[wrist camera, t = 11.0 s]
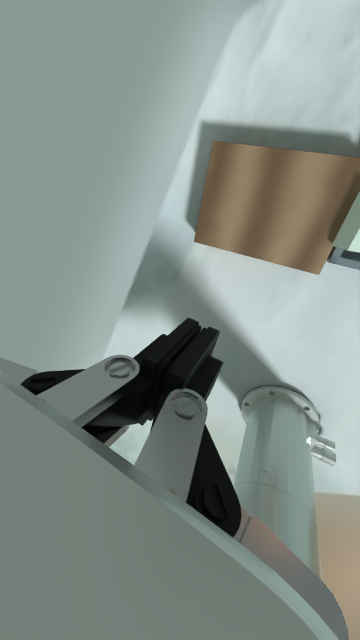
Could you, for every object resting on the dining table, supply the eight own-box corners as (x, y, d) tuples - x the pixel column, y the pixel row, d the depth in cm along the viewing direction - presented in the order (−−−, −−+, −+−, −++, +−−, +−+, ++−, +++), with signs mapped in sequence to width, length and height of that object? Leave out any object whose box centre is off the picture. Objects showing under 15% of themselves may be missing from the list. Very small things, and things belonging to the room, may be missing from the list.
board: (368, 165, 22) (378, 159, 20) (316, 269, 28) (318, 274, 25) (220, 147, 27) (213, 140, 24) (201, 239, 32) (193, 241, 30)
